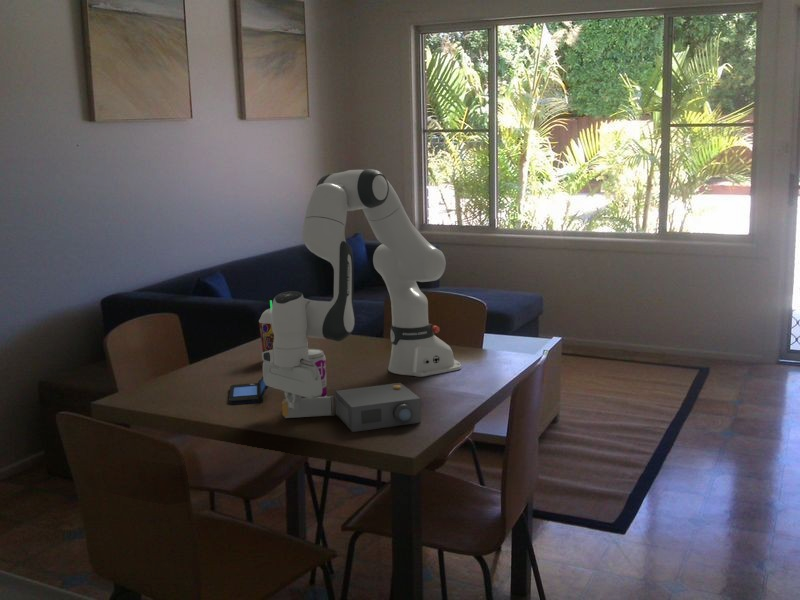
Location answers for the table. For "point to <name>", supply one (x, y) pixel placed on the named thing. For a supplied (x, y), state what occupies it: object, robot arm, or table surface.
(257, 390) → the handheld game console
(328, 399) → the side door
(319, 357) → the supplement can
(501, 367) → the table surface
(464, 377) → the table surface
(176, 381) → the table surface
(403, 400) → the camera body
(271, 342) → the smoothie
